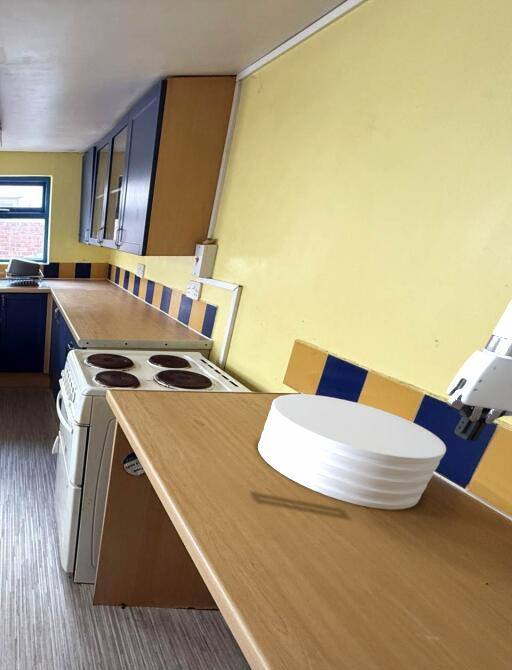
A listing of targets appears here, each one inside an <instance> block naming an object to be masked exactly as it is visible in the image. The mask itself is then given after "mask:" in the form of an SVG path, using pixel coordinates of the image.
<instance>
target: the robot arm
mask: <svg viewBox="0 0 512 670" xmlns="http://www.w3.org/2000/svg"><path fill="white" fill-rule="evenodd" d="M446 395H447V396H448V397H449V398H448V399H447V400H446V402H445V404H446V405H448V406H450V407H452V408H454V409H456V410H458V411H459V415H460V416H462V417H461V418H460V420H459V422H458V423H457V425H456V427H455V429H454V432H453V433H454V434H455V435H456V436H458V437H460V438H461V439H463V440H464V441H465V440H466V441H472V442H476V441H477V440H478V438H479V437H480V435H482V433H483V431H484V429H485V428H486V427H487V425H489V424H492V423H494V422H495V421H496V420H497V419H500V418H503V417H512V299H511V300H510V302H509V304H508V305H507V307H506V309H505V311H504V312H503V314H502V315H501V318H500V319H499V321H498V323H497V325H496V326H495V328H494V330H493V332H492V334H491V335H490V337H489V339H488V340H487V342H486V344H485V346H484V348H483V349H482V350H481V349H477V350H476V351H475V352H473V354H471V356H470V357H469V358H468V359H467V360H466V361H465V362H464V364H463V365H461V368H460V369H459V370H458V372H457V373H456V375H455V376H454V378H453V379H452V381H451V383H450V384H449V385H448V388H447V390H446Z"/></svg>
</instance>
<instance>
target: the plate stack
mask: <svg viewBox="0 0 512 670" xmlns="http://www.w3.org/2000/svg"><path fill="white" fill-rule="evenodd" d="M257 448H258V452H259V453H260V456H261V457H262V458H263V459H264V461H265V462H266V463H267V464H269V465H270V467H272V468H273V469H274V470H276V472H279V473H280V474H281V475H283V476H285V477H287V478H288V479H290V480H292V481H293V482H296V483H297V484H299V485H301V486H304V487H306V488H308V489H310V490H312V491H314V492H317V493H319V494H322V495H325V496H327V497H330V498H334V499H337V500H340V501H343V502H346V503H350V504H354V505H358V506H363V507H367V508H373V509H380V510H381V509H382V510H404V509H409V508H412V507H414V506H416V505H417V504H418V503H419V501H420V500H421V498H422V494H423V493H424V492H425V490H426V489H427V486H428V484H429V482H430V481H431V479H432V478H433V476H434V472H435V471H436V470H437V469H438V467H439V465H440V462H441V460H442V459H443V458H444V456H445V454H446V452H447V446H446V444H445V443H444V441H443V440H442V439H440V437H438V436H437V435H436V434H434V433H433V432H431V431H430V430H428V429H426V428H425V427H423V426H421V425H419V424H417V423H415V422H413V421H411V420H408V419H406V418H404V417H401V416H399V415H396V414H395V413H394V414H393V413H392V412H388V411H385V410H382V409H380V408H376V407H373V406H370V405H366V404H364V403H363V404H362V403H358V402H355V401H350V400H346V399H341V398H337V397H331V396H325V395H317V394H308V393H307V394H305V393H291V394H290V393H289V394H283V395H280V396H278V397H275V398H274V399H273V401H272V404H271V408H270V410H269V412H268V416H267V419H266V421H265V424H264V429H263V430H262V433H261V437H260V439H259V442H258V446H257Z"/></svg>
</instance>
